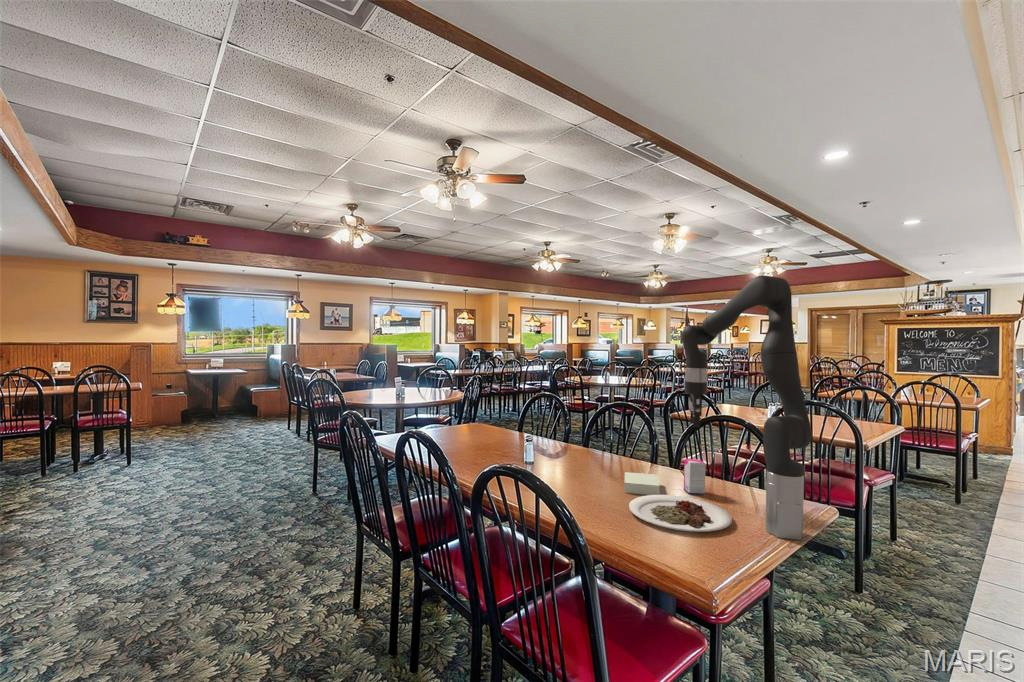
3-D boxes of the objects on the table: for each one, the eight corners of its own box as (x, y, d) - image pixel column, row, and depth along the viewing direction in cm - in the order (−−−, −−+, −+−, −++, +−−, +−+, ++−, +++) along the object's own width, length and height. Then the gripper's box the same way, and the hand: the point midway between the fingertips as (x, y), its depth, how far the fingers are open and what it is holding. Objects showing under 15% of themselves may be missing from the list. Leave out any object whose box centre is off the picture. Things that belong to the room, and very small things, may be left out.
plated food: (622, 526, 134) (622, 514, 134) (634, 495, 162) (634, 485, 162) (736, 544, 123) (736, 532, 123) (728, 508, 151) (728, 497, 151)
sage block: (659, 497, 161) (659, 485, 161) (624, 493, 164) (624, 482, 164) (657, 485, 175) (657, 474, 175) (624, 482, 178) (624, 472, 178)
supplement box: (705, 495, 163) (706, 462, 163) (688, 494, 163) (689, 462, 163) (699, 489, 168) (699, 458, 169) (683, 489, 169) (683, 458, 169)
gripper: (710, 382, 158) (709, 429, 158) (704, 379, 172) (703, 422, 172) (687, 381, 160) (685, 428, 160) (683, 378, 174) (682, 421, 174)
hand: (694, 425), depth 166 cm, fingers open, 8 cm apart
